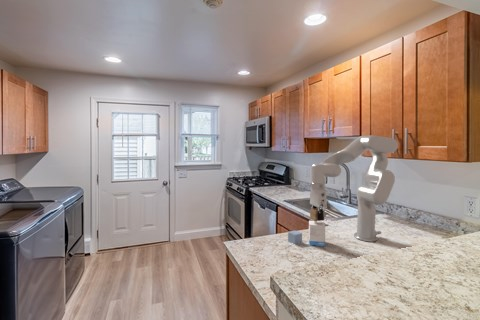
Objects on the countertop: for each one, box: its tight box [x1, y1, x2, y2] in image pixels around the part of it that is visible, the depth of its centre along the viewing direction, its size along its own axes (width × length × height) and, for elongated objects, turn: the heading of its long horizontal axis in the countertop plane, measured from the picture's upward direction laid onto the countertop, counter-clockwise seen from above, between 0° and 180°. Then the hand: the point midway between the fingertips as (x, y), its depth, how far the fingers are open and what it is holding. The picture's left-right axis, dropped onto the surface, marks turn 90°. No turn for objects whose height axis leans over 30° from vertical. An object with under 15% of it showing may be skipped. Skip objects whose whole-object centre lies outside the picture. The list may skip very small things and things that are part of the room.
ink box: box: [308, 220, 326, 247], centre depth 140 cm, size 9×8×13 cm
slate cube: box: [287, 229, 303, 245], centre depth 142 cm, size 6×6×6 cm
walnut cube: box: [309, 207, 325, 221], centre depth 139 cm, size 6×6×6 cm
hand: (317, 217), depth 139 cm, fingers closed on walnut cube, 5 cm apart
